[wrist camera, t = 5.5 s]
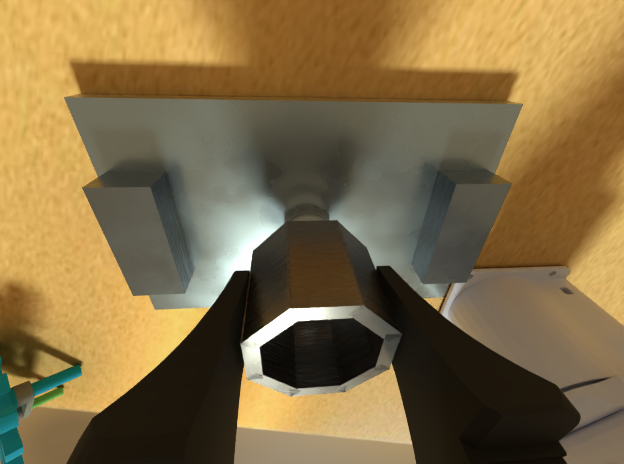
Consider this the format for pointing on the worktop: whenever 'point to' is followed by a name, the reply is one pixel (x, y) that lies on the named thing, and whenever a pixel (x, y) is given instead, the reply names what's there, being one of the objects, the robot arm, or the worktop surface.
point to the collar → (315, 312)
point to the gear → (24, 408)
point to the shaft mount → (289, 182)
